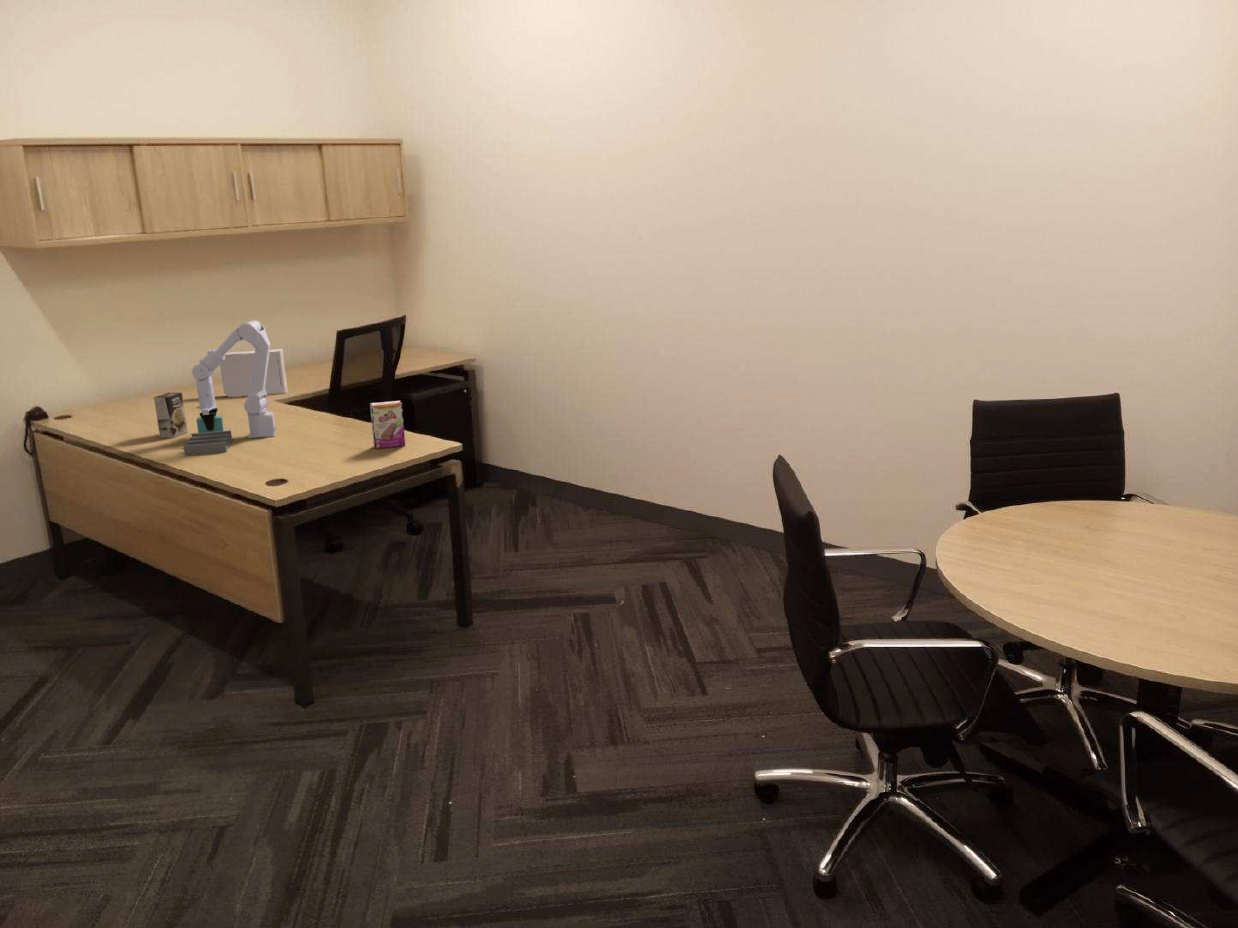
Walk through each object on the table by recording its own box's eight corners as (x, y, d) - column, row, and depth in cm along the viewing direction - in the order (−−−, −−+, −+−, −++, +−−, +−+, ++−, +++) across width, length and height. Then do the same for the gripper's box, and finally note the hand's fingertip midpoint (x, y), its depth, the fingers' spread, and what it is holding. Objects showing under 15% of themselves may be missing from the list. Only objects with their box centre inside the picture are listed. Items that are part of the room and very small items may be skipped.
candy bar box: (375, 449, 351) (370, 405, 346) (373, 446, 356) (369, 403, 351) (406, 446, 355) (402, 402, 350) (404, 443, 359) (400, 400, 355)
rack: (232, 439, 370) (230, 430, 369) (226, 452, 352) (224, 442, 351) (193, 442, 366) (191, 433, 365) (185, 455, 349) (183, 446, 348)
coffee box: (174, 438, 373) (167, 397, 368) (159, 437, 374) (152, 397, 369) (188, 432, 381) (182, 392, 377) (174, 431, 383) (167, 391, 378)
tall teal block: (225, 434, 377) (222, 415, 374) (224, 436, 373) (221, 417, 371) (200, 436, 374) (197, 417, 372) (199, 438, 371) (196, 419, 369)
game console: (287, 393, 446) (282, 350, 440) (224, 398, 439) (218, 355, 433) (287, 391, 451) (282, 348, 445) (225, 395, 444) (219, 353, 438)
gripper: (197, 391, 375) (202, 425, 379) (191, 399, 361) (197, 434, 365) (217, 390, 377) (222, 423, 380) (212, 398, 363) (217, 432, 367)
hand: (211, 428), depth 373 cm, fingers closed on tall teal block, 3 cm apart
